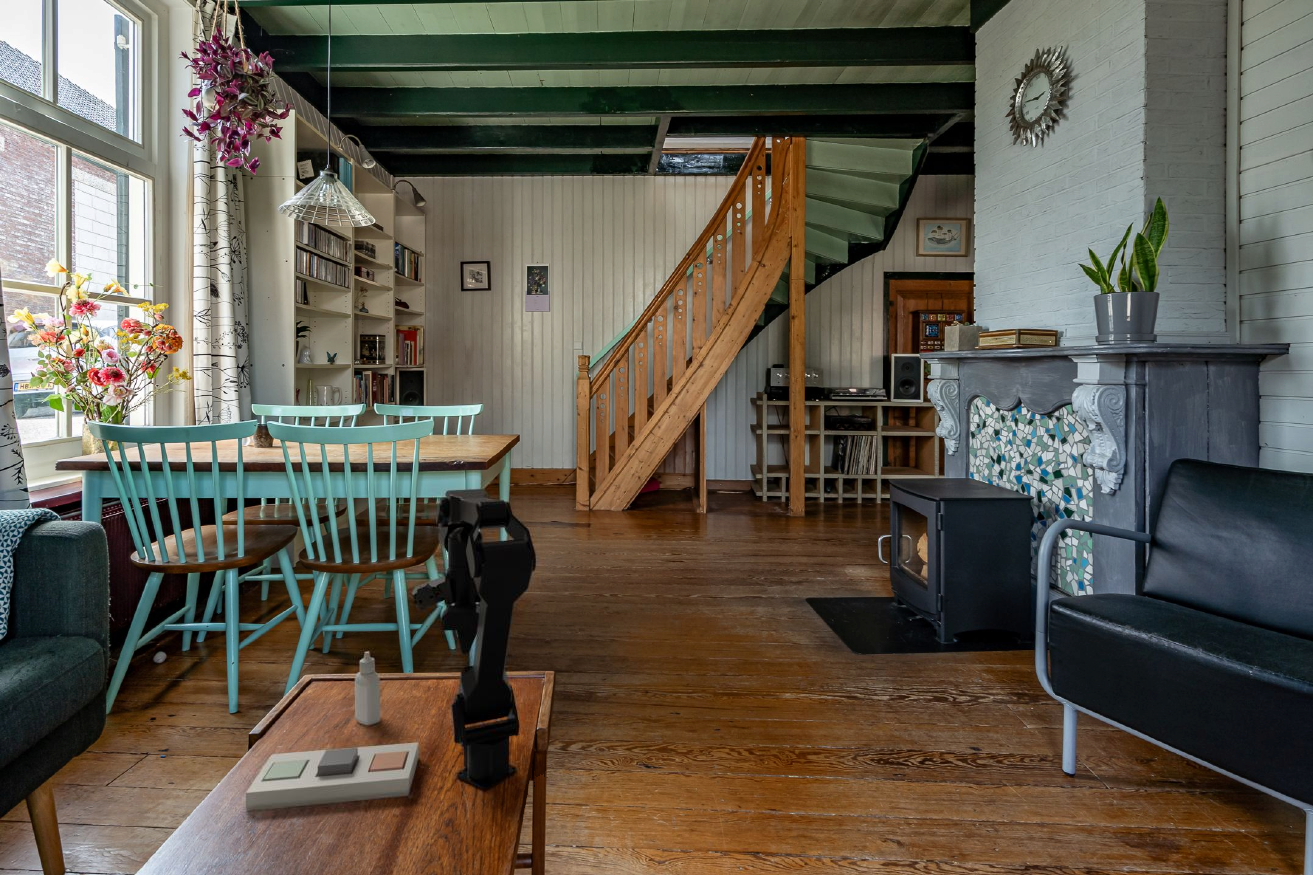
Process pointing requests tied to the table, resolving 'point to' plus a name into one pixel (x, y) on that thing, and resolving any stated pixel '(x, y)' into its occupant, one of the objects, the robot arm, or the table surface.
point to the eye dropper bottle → (367, 692)
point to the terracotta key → (389, 761)
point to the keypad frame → (333, 780)
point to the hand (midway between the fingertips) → (465, 653)
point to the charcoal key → (338, 762)
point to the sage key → (286, 770)
